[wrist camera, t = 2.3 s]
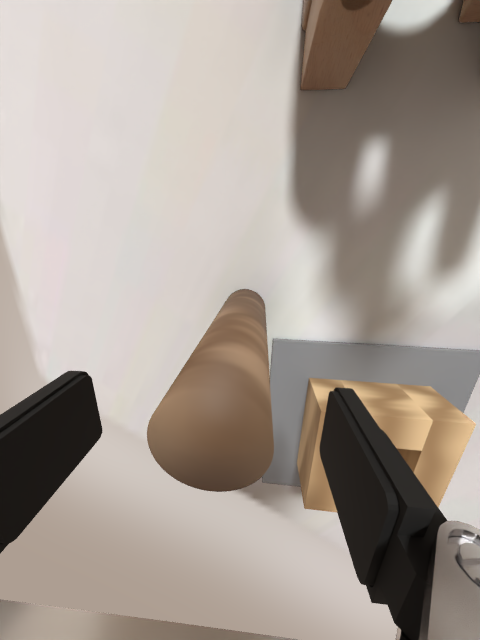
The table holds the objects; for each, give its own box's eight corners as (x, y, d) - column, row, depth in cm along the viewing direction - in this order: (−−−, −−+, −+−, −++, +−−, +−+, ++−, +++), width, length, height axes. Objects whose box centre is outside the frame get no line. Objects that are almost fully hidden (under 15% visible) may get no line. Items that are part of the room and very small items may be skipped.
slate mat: (483, 350, 21) (488, 353, 21) (423, 495, 27) (426, 500, 27) (273, 338, 23) (273, 340, 22) (262, 478, 29) (262, 482, 29)
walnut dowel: (266, 290, 21) (279, 397, 6) (263, 328, 22) (269, 497, 7) (225, 288, 22) (139, 386, 6) (225, 326, 23) (153, 484, 8)
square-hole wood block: (430, 386, 22) (476, 424, 17) (400, 473, 26) (431, 523, 21) (308, 377, 23) (321, 411, 18) (296, 462, 27) (304, 508, 22)
